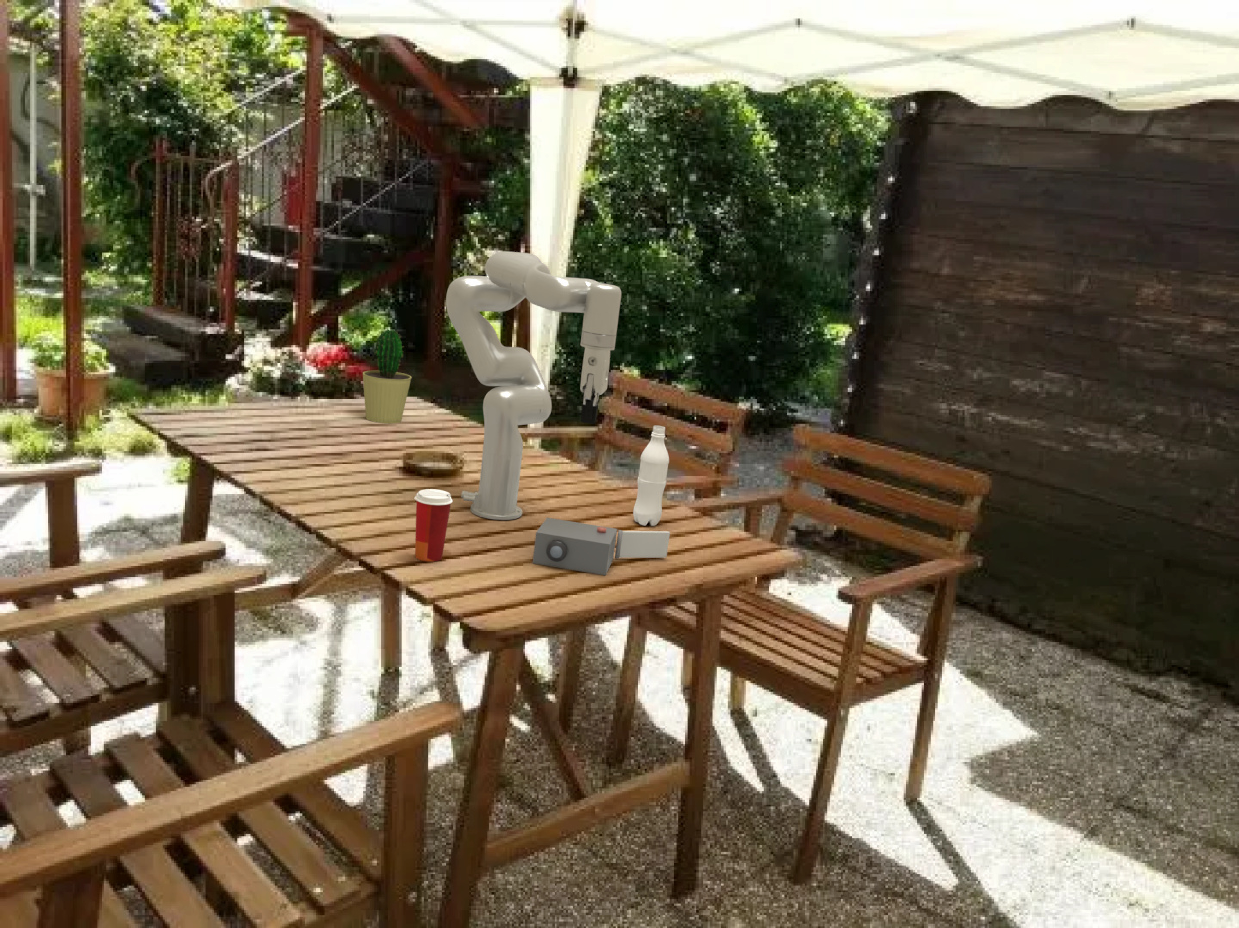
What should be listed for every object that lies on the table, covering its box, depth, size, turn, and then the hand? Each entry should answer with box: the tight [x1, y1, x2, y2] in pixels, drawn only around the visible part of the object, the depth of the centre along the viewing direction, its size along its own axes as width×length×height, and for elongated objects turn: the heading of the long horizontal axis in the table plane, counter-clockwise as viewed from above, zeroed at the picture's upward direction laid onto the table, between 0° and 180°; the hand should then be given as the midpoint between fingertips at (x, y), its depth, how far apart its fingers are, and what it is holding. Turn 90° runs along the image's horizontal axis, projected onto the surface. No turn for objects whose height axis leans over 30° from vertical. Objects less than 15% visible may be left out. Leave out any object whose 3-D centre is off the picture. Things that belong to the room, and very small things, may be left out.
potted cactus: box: [362, 328, 413, 424], centre depth 343 cm, size 15×15×30 cm
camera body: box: [532, 517, 618, 576], centre depth 233 cm, size 16×13×8 cm
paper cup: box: [414, 488, 453, 563], centre depth 223 cm, size 8×8×14 cm
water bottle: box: [632, 425, 670, 527], centre depth 267 cm, size 7×7×25 cm
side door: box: [614, 529, 671, 560], centre depth 241 cm, size 2×12×6 cm, turn 111°
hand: (588, 422), depth 237 cm, fingers closed
